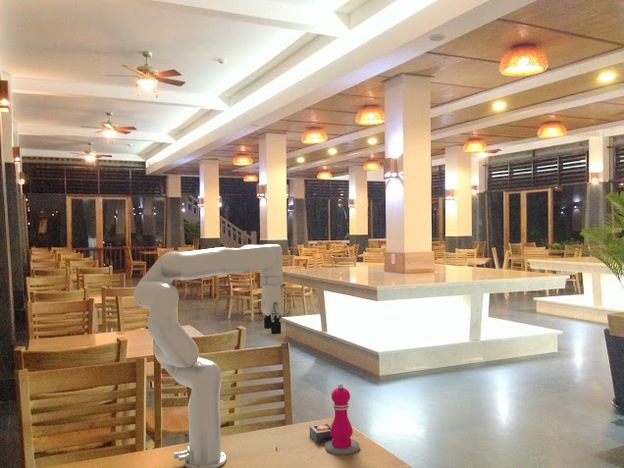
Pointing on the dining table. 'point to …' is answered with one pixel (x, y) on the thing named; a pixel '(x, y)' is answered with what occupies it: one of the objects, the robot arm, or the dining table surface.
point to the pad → (345, 451)
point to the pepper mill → (341, 418)
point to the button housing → (320, 433)
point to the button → (322, 428)
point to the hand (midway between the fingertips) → (272, 331)
